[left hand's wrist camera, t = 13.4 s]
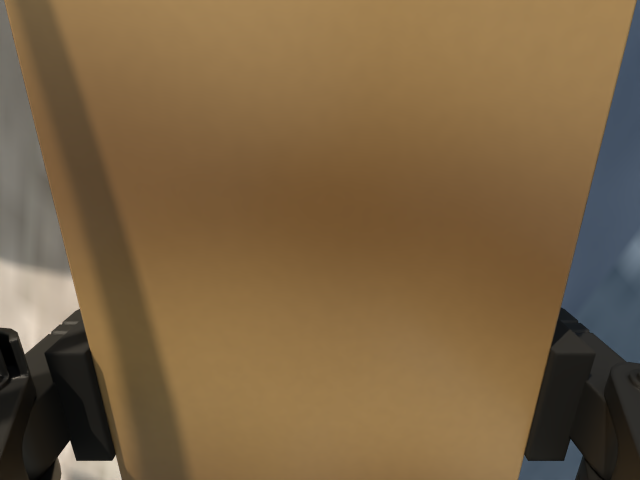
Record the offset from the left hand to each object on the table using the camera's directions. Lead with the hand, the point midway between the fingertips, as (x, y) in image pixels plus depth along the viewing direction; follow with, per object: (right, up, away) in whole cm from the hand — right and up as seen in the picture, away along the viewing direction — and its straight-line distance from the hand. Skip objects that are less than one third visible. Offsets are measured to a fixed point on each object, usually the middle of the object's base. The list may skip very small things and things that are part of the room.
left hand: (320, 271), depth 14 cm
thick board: (0, -18, +7) cm, 19 cm away
